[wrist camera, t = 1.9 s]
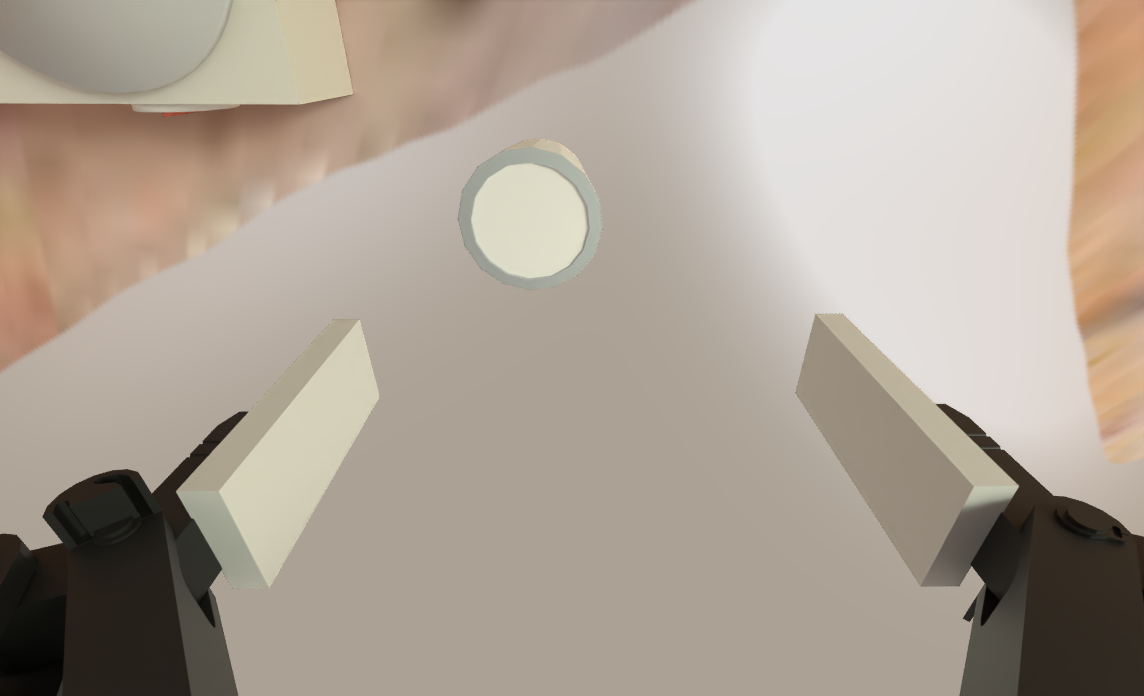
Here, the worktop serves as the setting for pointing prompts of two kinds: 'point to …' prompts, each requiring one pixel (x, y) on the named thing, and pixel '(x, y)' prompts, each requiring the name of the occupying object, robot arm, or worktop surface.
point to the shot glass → (531, 215)
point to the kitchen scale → (171, 53)
